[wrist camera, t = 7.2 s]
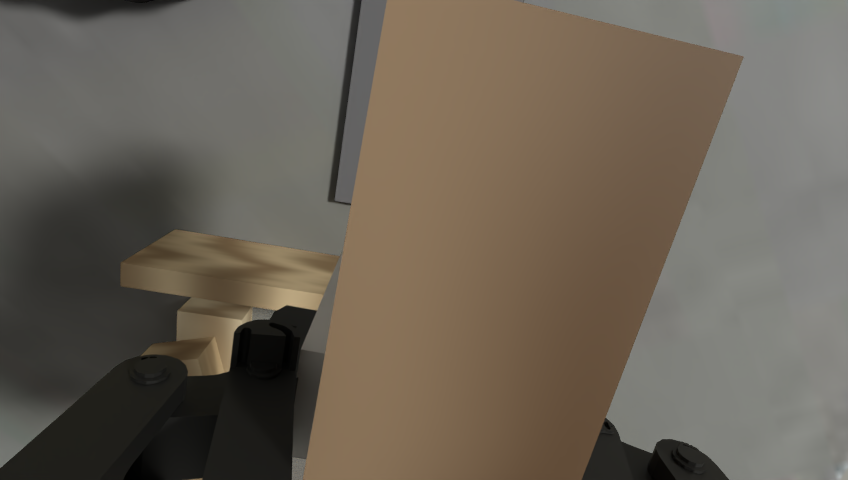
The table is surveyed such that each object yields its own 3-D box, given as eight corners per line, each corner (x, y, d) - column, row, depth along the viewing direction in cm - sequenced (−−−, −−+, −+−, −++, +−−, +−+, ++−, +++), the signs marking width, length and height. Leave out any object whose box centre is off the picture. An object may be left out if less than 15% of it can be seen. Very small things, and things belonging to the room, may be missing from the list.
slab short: (195, 477, 39) (178, 508, 36) (152, 343, 35) (130, 366, 32) (251, 470, 39) (239, 501, 36) (214, 336, 35) (197, 358, 32)
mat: (335, 198, 35) (334, 200, 34) (379, -127, 29) (379, -131, 29) (472, 222, 36) (473, 224, 35) (542, -89, 30) (545, -93, 29)
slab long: (188, 463, 42) (172, 491, 39) (195, 293, 37) (177, 310, 35) (241, 469, 42) (229, 497, 40) (254, 302, 38) (242, 320, 35)
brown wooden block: (323, 471, 19) (238, 847, 10) (404, 44, 15) (391, -30, 5) (423, 486, 20) (434, 864, 10) (533, 74, 15) (743, 56, 5)
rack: (164, 506, 43) (119, 584, 36) (175, 229, 35) (120, 262, 29) (467, 542, 45) (477, 622, 38) (537, 288, 37) (565, 333, 31)
